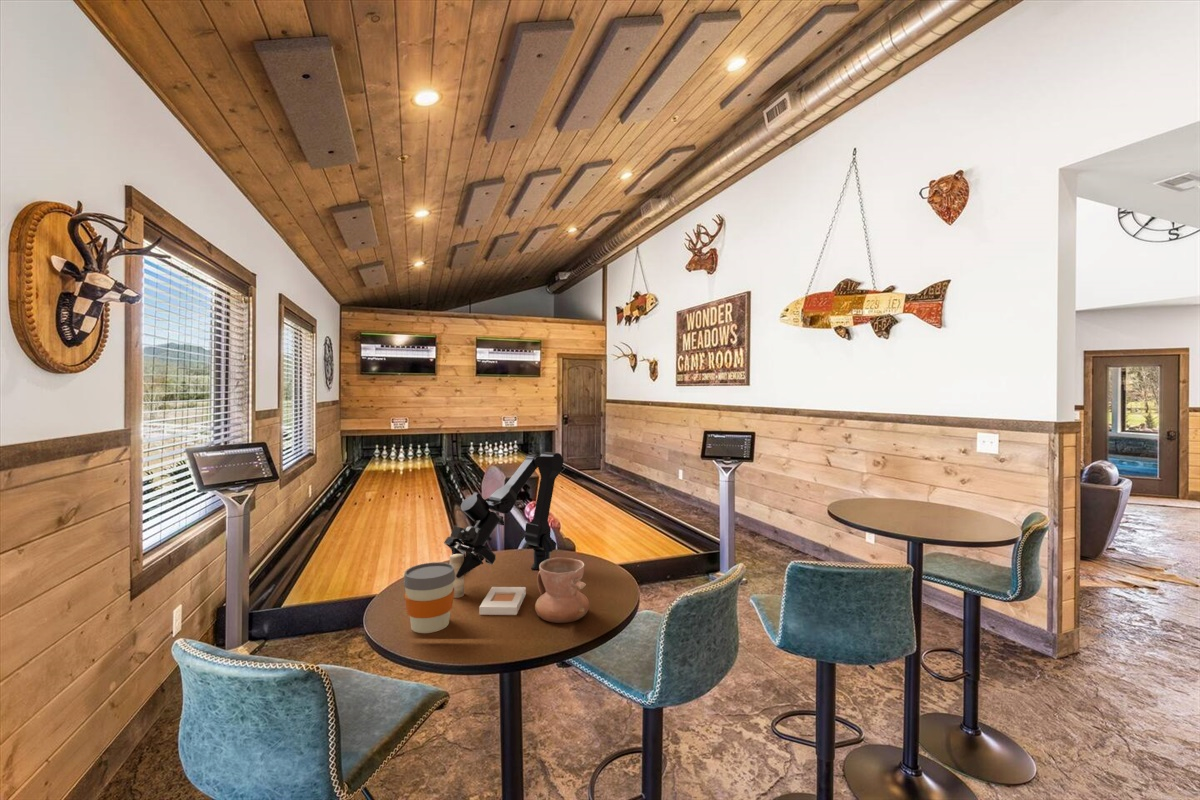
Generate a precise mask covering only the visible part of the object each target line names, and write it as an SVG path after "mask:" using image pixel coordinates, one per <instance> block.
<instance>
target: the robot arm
mask: <svg viewBox="0 0 1200 800" xmlns="http://www.w3.org/2000/svg"><path fill="white" fill-rule="evenodd" d="M563 465H564V457H563V456H562V454H561V453H559V452H552V451H544V452H542V453H541V454H528V455H526V456H525V458H524V461H523V462H522V463H520V466H519V467H518V468H517V470H516V471H514V473H513V474H512V476H511V477H510V478H509V479H508V481H507V482H506V483H505V484H504V485H503V486H501V487H499V488H498V489H496V490H495V491H494V492H493V493H491V494H490V495H489V497H488V498H483V496H482V495H481V493H480V492H473V494H471V495H469V496H467V498H465V499H463V500H462V502H461V504H460V509H461V510H462V512H463V513H464V514H466V516H468V517H469V518H470V519H471V520H472V521H474V522H476V523H475V525H474V526H472V525H469V526H468V525H467V527H466V528H464V527H461V526H458V525H453V528H452V530H451V533H450V536H448V537H446V538H445V540H444V541H443V543H444V544H445V545H446V546H447V547H448V548H450V550H451V555H453V554H463V555H464V562H463V564H462V566H461V567H460V569H459V571H458V573H457V575H456V577H457V578H460V577H461V576H463V575H464V576H465V575H466V574H467V573H469V572H471V571H472V570H474V569H476V568H477V567H479V566H481V565H484V560H485V563H486V564H488V565H492V566H493V564H494V563H495V561H496V558H497V557H496V554H495V552H493V551H492V550H491V549H490V548H489V547H487V546H485V545H486V543H487V542H491V541H492V537H491V536H492V534H493V533H494V530H495V529H496V528H497V526H499V525H500V526H505V520H504V516H503V515H498V513H499V514H509V513H510V512H511V511H512V509H513V508H514V506H515V505H516V502H517V498H518V497H517V496H518V494H519V493H520V491H521V490H522V488H523V487H524V486H525V485H526V484H527V482H528V481H529V479H530V478H531V477H532V475H533V474H534V473H535V471H537V469H538V472H539V475H540V480H539V486H538V491H537V497H536V498H537V499H536V504H535V508H534V515H533V518H532V519H531V521H530V522H526V524H525V529H524V530H525V531H524V533H523V535H524V541H525V542H526V544H527V547H528V549H532V551H533V563H532V566H531V570H540V569H539V565H540V563H541V562H543V561H544V560H547V559H551V553H552V552H553V551H555V550H556V547H557V543H556V541H555V540H554V539H553V538H552V537H551V526H550V524H549V515H550V510H551V503H552V499H553V492H554V487H555V480H556V478H557V477H558V476H559V474H561V471H562V468H563Z"/></svg>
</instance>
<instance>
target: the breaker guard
mask: <svg viewBox="0 0 1200 800" xmlns="http://www.w3.org/2000/svg"><path fill="white" fill-rule="evenodd" d="M526 594H527V587H526V586H491V588H490V589H489V590H488V592H487V594H486V595H485V597H484V599H483V600H482V601H481V604H480V605H479V608H478V610H479V613H478V615H480V616H481V615H482V616H488V615H489V616H494V615H495V616H497V615H498V616H517V614H518V613H519V610H520V609H521V605H522V603H523V602H524V599H525V597H526ZM496 595H515V596H514V598H513V600H512V601H493V599H494V598H495V596H496Z"/></svg>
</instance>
